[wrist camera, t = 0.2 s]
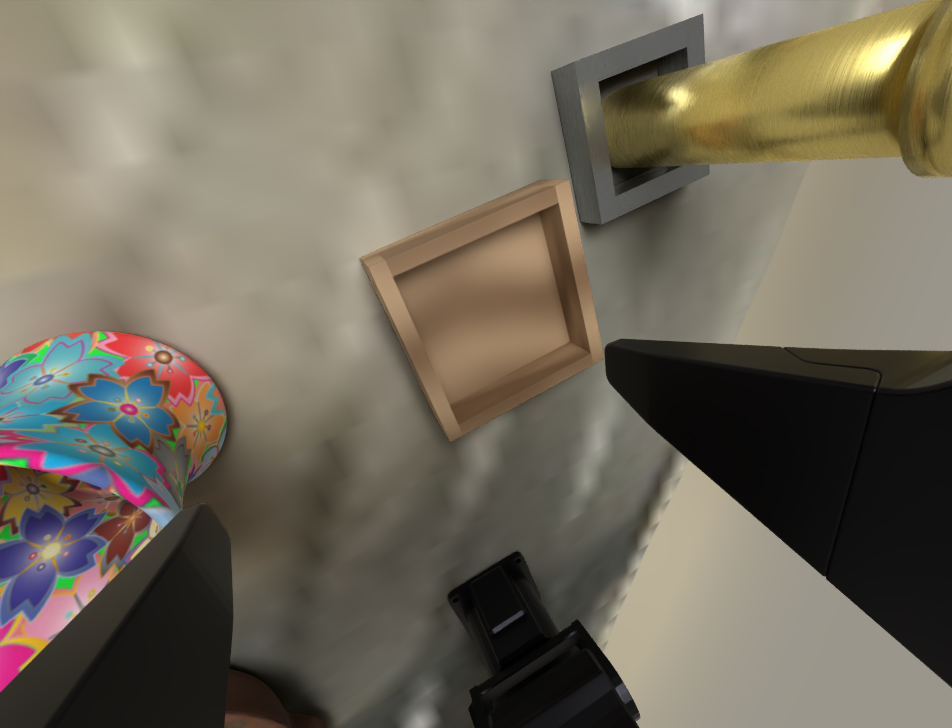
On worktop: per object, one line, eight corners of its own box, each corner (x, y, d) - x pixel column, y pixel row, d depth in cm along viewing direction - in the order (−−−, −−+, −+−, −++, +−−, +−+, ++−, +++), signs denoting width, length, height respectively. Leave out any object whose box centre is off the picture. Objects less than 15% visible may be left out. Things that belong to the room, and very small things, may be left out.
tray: (577, 343, 28) (604, 358, 26) (435, 418, 26) (450, 442, 24) (539, 179, 23) (568, 180, 20) (359, 257, 21) (368, 267, 18)
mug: (261, 349, 21) (238, 479, 12) (212, 505, 23) (160, 720, 14) (-106, 257, 15) (-712, 373, 6) (-129, 477, 17) (-607, 815, 8)
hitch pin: (664, 160, 25) (1045, 140, 13) (593, 193, 24) (928, 205, 12) (655, 59, 23) (1121, -96, 10) (576, 91, 22) (979, -37, 9)
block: (682, 174, 26) (709, 174, 24) (580, 221, 25) (601, 224, 23) (671, 26, 22) (703, 13, 21) (551, 71, 21) (574, 61, 19)
